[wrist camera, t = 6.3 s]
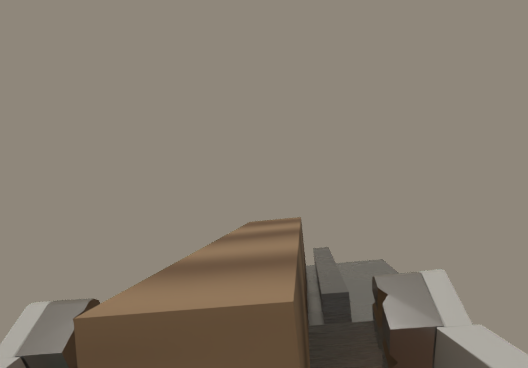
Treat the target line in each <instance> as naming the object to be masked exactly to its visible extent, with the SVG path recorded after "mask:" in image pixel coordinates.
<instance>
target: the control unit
mask: <svg viewBox="0 0 528 368" xmlns="http://www.w3.org/2000/svg"><path fill="white" fill-rule="evenodd" d="M313 251H314V261H315V265H312V266H311V265H310V266H306V279H307V304H308V329H309V353H310V368H383V366H382V351H381V350H380V349H379V348H378V345H377V341H376V337H375V331H374V324H373V312H372V305H373V303H374V302H375V299H374V296H373V292H372V277H373V276H377V275H388V274H399V273H398V272H397V271H396V270H394V269H393V268H392V267H391V266H390V265H388V264H387V263H386V262H385V261H384V260H382V259H381V260H369V261H358V262H346V263H335V261H334V259H333V256H332V254H331V252H330V250H329V248H328V247H325V248H314V249H313Z"/></svg>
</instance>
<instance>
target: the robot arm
mask: <svg viewBox="0 0 528 368" xmlns="http://www.w3.org/2000/svg"><path fill="white" fill-rule="evenodd" d="M372 292H373V296H374V299H375V302H374V303H373V305H372V312H373V324H374V331H375V337H376V341H377V345H378V348H379V349H380V350H381V351H382V366H383V368H528V355H527V354H526V353H524V352H523V351H521V350H520V349H518V348H517V347H515V346H513V345H512V344H510V343H509V342H507V341H506V340H504V339H503V338H501V337H500V336H498V335H496V334H495V333H493V332H492V331H490V330H489V329H487V328H486V327H484V326H483V325H481V324H479V325H473V323H472V321H471V319H470V317H469V315H468V314H467V312H466V310H465V308H464V306H463V304H462V302H461V300H460V298H459V296H458V294H457V292H456V291H455V289H454V287H453V285H452V283H451V281H450V279H449V277H448V275H447V273H446V272H445V271H444V270H443V269H437V270H427V271H419V272H411V273H399V274H388V275H377V276H373V277H372ZM99 304H100V302H99V300H96V299H78V300H61V301H53V302H34V303H32V304H30V305H28V306H27V307H26V308H25V310H24V311H23V313H22V314H21V315H20V317H19V318H18V320H17V321H16V323H15V324H14V326H13V327H12V328H11V330H10V331H9V333H8V334H7V336H6V337H5V339H4V340H3V342H2V343H1V344H0V368H78V367H77V355H76V344H75V332H74V320H73V319H74V318H76V317H77V316H79V315H81V314H83V313H85V312H86V311H88V310H90V309H92V308H94V307H96V306H97V305H99Z"/></svg>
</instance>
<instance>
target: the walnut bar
mask: <svg viewBox="0 0 528 368" xmlns="http://www.w3.org/2000/svg"><path fill="white" fill-rule="evenodd" d="M73 320H74V332H75V344H76V355H77V367H78V368H310V353H309V329H308V304H307V279H306V264H305V253H304V244H303V233H302V224H301V217H297V218H287V219H276V220H267V221H266V220H265V221H255V222H249V223H247V224H245V225H243V226H242V227H240V228H238V229H236V230H234V231H232V232H231V233H229V234H227V235H225V236H223V237H222V238H220V239H218V240H216V241H214V242H212V243H211V244H209V245H207V246H205V247H203V248H202V249H200V250H198V251H196V252H194V253H192V254H190V255H189V256H187V257H185V258H183V259H181V260H180V261H178V262H176V263H174V264H172V265H170V266H169V267H167V268H165V269H163V270H161V271H159V272H158V273H156V274H154V275H152V276H150V277H148V278H147V279H145V280H143V281H141V282H139V283H138V284H136V285H134V286H132V287H130V288H129V289H127V290H125V291H123V292H121V293H119V294H118V295H116V296H114V297H112V298H110V299H108V300H107V301H105V302H103V303H101V304H99V305H97V306H96V307H94V308H92V309H90V310H88V311H86V312H85V313H83V314H81V315H79V316H77V317H76V318H74V319H73Z"/></svg>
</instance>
